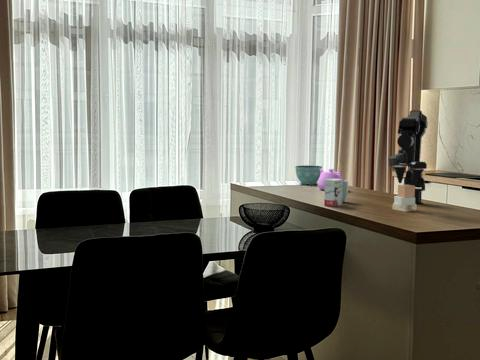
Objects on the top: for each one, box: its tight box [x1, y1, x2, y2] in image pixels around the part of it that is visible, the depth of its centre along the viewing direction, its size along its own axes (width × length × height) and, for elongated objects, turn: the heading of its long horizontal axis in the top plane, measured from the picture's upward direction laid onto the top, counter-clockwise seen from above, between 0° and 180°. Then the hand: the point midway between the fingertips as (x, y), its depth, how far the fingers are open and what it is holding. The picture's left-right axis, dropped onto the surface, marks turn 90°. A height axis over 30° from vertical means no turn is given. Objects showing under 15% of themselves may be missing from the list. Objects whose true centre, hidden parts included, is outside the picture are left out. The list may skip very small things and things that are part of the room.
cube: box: [397, 184, 416, 198], centre depth 239 cm, size 5×5×5 cm
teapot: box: [317, 168, 344, 191], centre depth 309 cm, size 20×13×12 cm, turn 27°
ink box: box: [323, 178, 344, 208], centre depth 250 cm, size 9×5×12 cm, turn 143°
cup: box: [342, 179, 349, 203], centre depth 261 cm, size 8×8×10 cm
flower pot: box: [294, 165, 323, 186], centre depth 338 cm, size 16×16×11 cm
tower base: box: [392, 202, 418, 212], centre depth 240 cm, size 7×7×3 cm
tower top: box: [393, 195, 415, 205], centre depth 240 cm, size 6×6×3 cm
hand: (406, 184), depth 239 cm, fingers open, 9 cm apart
